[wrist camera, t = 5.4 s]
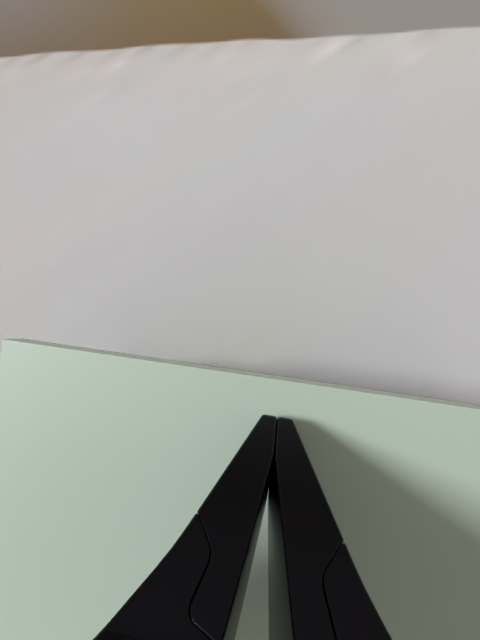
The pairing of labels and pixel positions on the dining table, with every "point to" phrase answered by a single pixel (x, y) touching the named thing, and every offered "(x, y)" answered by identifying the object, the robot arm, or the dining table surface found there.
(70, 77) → the dining table surface
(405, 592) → the cover
